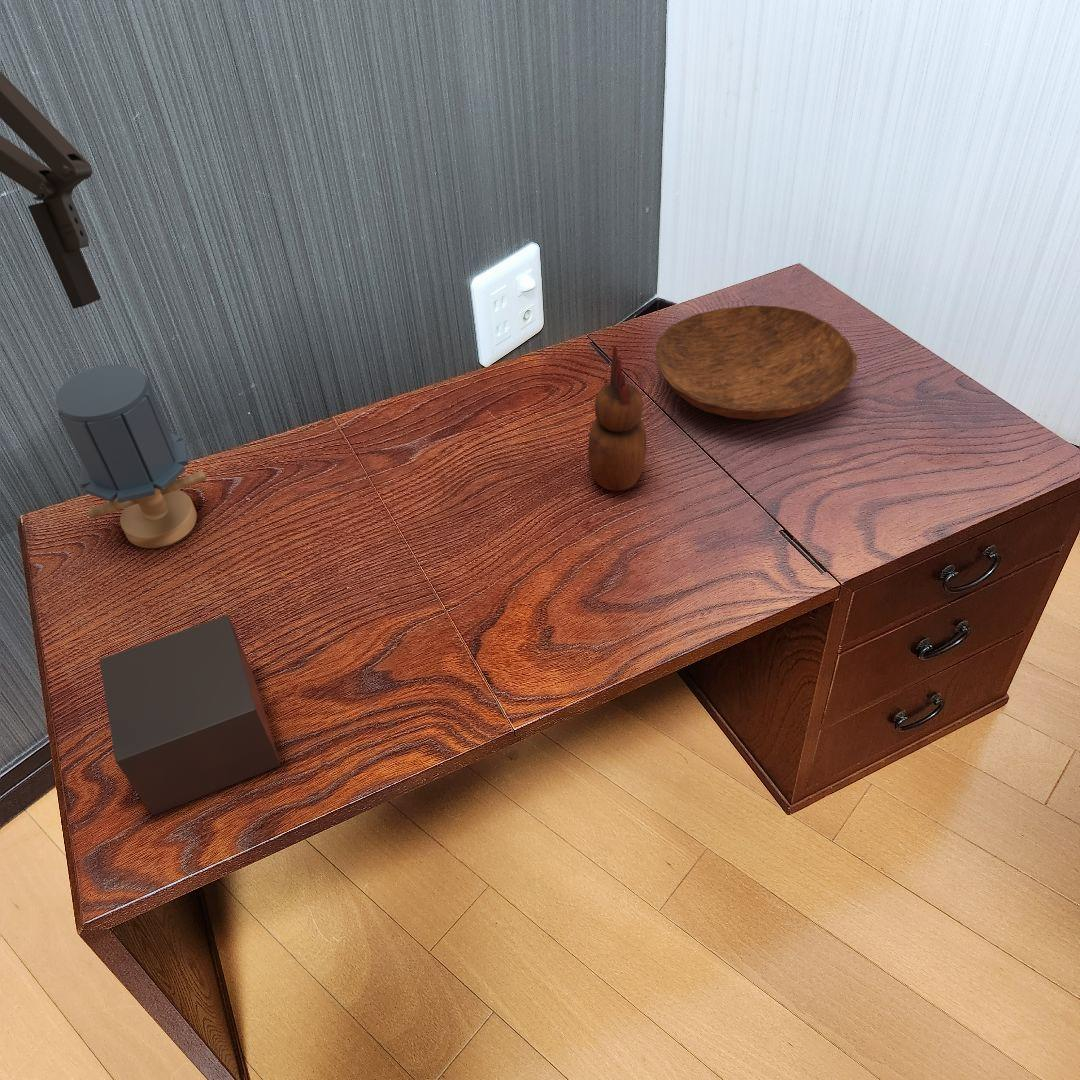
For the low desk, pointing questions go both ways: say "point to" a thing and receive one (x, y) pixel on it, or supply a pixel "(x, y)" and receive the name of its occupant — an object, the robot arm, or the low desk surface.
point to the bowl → (755, 361)
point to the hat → (119, 433)
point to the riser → (186, 715)
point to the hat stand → (156, 514)
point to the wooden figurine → (617, 433)
